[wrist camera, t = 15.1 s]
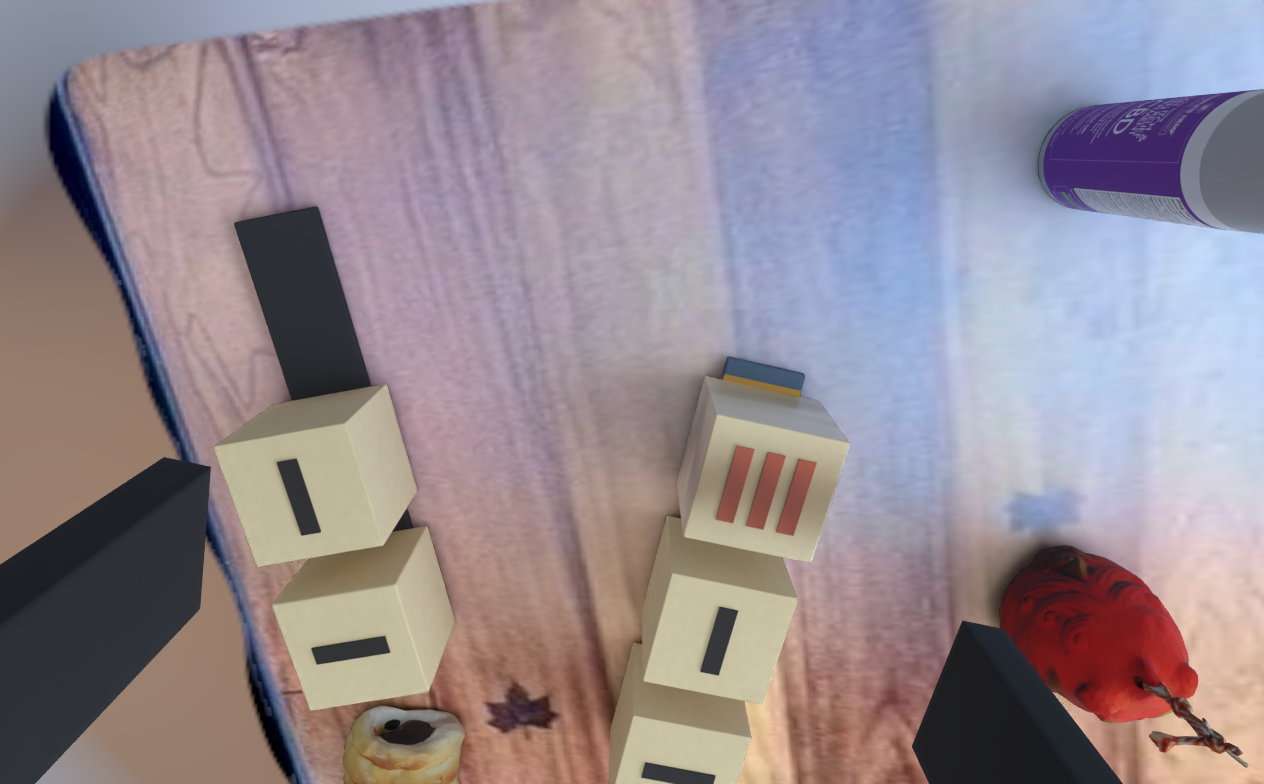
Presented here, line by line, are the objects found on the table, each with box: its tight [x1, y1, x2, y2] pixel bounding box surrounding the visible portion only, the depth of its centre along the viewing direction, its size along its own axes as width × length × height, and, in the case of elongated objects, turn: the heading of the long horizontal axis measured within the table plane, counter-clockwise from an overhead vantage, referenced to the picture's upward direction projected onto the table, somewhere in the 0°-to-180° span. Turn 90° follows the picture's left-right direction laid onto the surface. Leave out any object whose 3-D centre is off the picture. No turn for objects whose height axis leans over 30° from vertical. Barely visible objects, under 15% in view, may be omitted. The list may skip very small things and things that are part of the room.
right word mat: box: [608, 357, 805, 784], centre depth 40 cm, size 24×6×7 cm, turn 167°
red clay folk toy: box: [999, 545, 1248, 768], centre depth 37 cm, size 8×7×15 cm
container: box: [1038, 89, 1264, 234], centre depth 30 cm, size 5×5×15 cm
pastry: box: [343, 706, 465, 784], centre depth 46 cm, size 9×7×4 cm
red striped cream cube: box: [677, 376, 850, 563], centre depth 38 cm, size 6×6×6 cm
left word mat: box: [213, 207, 455, 711], centre depth 38 cm, size 24×6×7 cm, turn 11°
